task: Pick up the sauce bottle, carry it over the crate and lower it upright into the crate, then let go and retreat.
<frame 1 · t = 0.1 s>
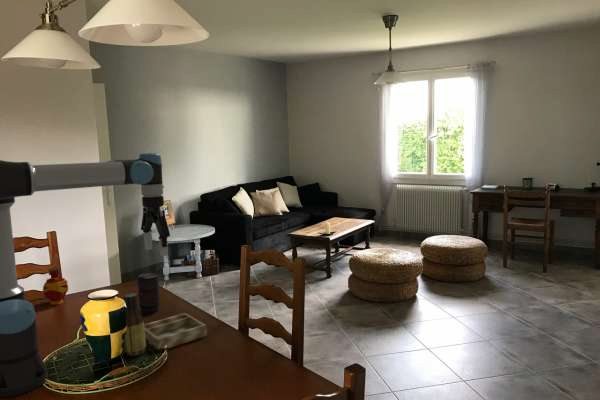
hand: (156, 252, 173), 28 cm above the table, fingers open, 13 cm apart
camera lens: (150, 311, 191), on the table
potion bottle: (57, 303, 203), on the table
sauce bottle: (136, 353, 153), on the table
crate: (173, 336, 166), on the table
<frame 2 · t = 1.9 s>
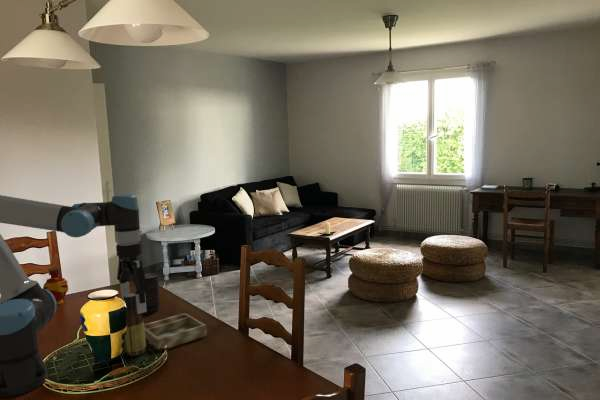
hand: (133, 307, 151), 16 cm above the table, fingers open, 13 cm apart
nothing on the table moved.
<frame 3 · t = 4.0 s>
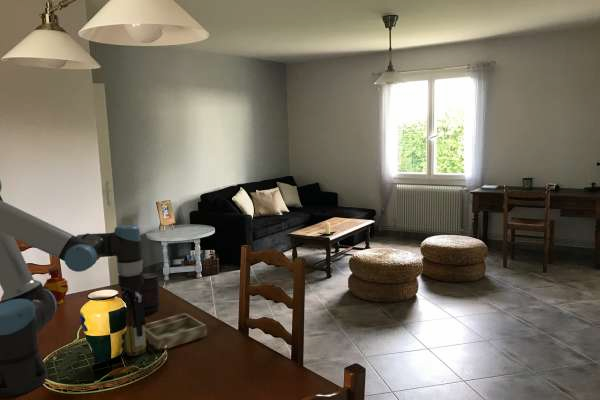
hand: (135, 341, 153), 4 cm above the table, fingers closed on sauce bottle, 6 cm apart
sauce bottle: (136, 353, 153), on the table, touching gripper
everything else where it was.
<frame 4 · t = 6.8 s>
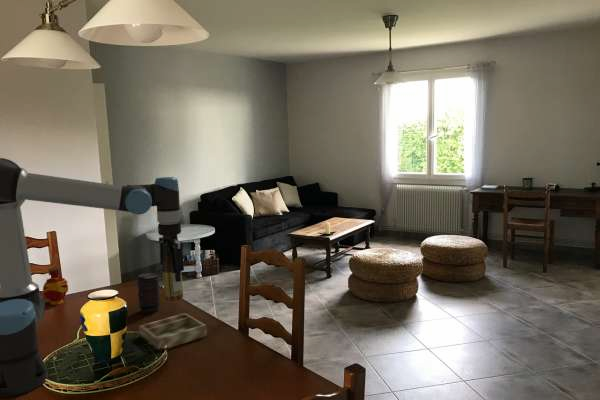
hand: (173, 287, 162), 18 cm above the table, fingers closed on sauce bottle, 6 cm apart
sauce bottle: (173, 299, 162), point 14 cm above the table, touching gripper
everything else where it was.
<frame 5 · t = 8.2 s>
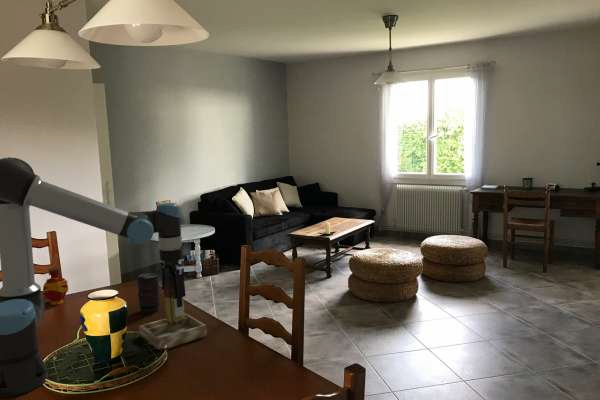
hand: (174, 312, 163), 9 cm above the table, fingers closed on sauce bottle, 6 cm apart
sauce bottle: (175, 323, 164), point 5 cm above the table, touching gripper
everything else where it was.
when the fingers open (6 cm above the table, at t = 9.7 s): sauce bottle drops 1 cm, resting on crate.
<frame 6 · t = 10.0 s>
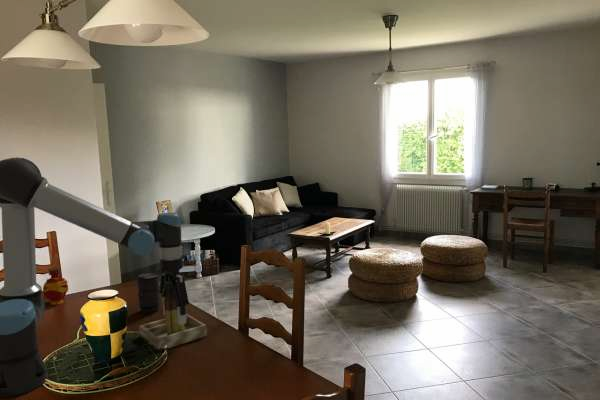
hand: (174, 318, 163), 7 cm above the table, fingers open, 11 cm apart
sauce bottle: (175, 336, 164), point 1 cm above the table, touching crate
everything else where it was.
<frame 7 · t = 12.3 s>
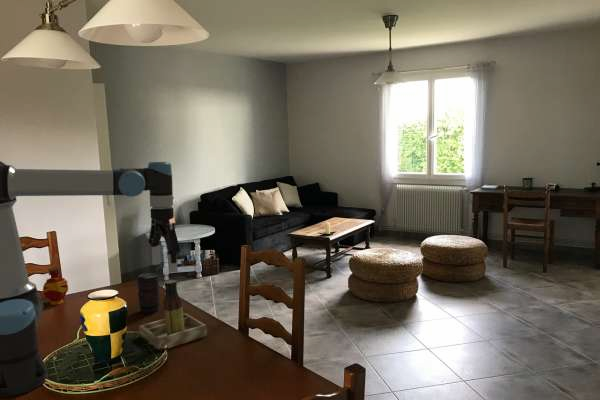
hand: (164, 268, 161), 25 cm above the table, fingers open, 13 cm apart
nothing on the table moved.
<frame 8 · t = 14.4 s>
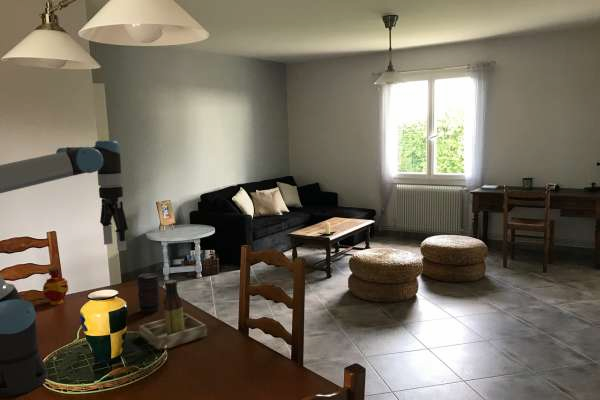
hand: (115, 247, 162), 33 cm above the table, fingers open, 13 cm apart
nothing on the table moved.
at the end: sauce bottle inside the target area on the crate (0.1 cm from its centre), point 0.5 cm above the crate's base; sauce bottle tilted 0°; the gripper is holding nothing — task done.
